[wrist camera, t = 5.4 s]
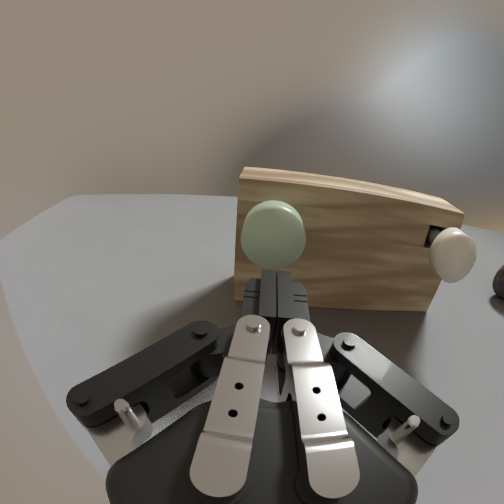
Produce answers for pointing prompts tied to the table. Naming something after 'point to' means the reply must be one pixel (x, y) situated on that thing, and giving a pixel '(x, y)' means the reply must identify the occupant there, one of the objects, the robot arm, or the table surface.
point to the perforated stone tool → (499, 282)
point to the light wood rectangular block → (350, 239)
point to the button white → (451, 253)
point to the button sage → (273, 235)
